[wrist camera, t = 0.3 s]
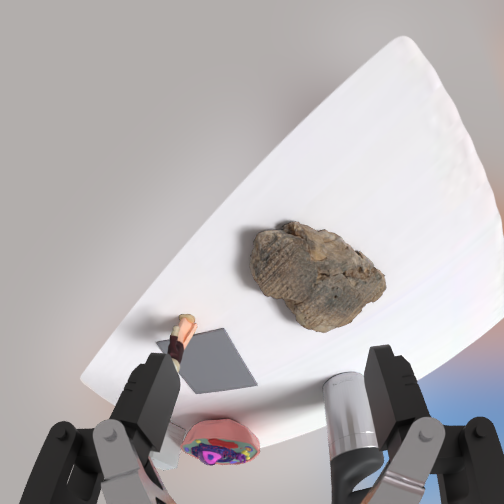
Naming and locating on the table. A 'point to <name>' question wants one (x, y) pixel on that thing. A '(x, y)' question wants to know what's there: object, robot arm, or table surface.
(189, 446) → the cell model
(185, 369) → the felt mat
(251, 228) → the table surface
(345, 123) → the table surface
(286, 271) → the clay tablet
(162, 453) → the supplement box
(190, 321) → the grandmother figurine
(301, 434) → the table surface
